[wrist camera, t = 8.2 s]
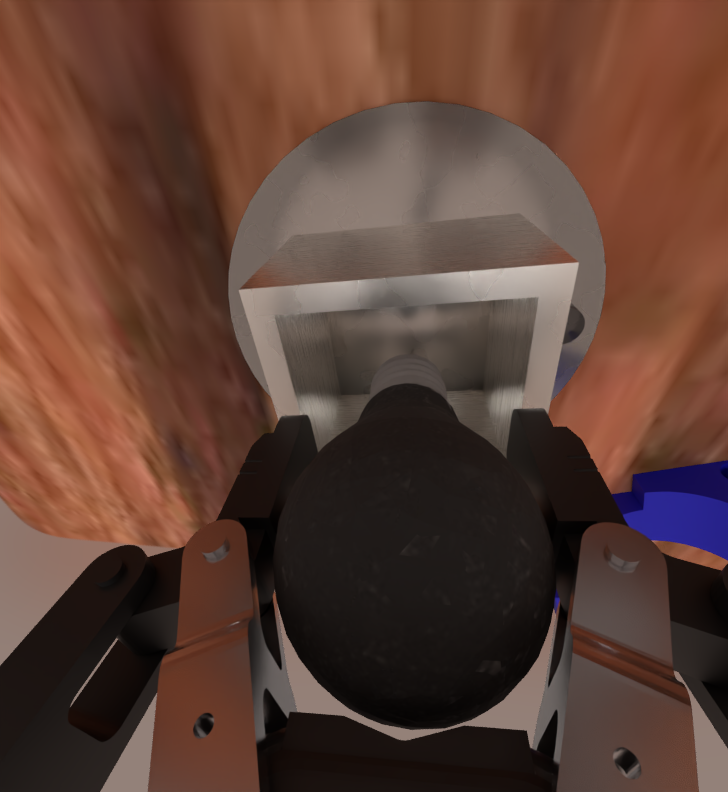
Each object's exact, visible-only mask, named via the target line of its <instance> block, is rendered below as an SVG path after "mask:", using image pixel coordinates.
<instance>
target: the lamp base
mask: <svg viewBox="0 0 728 792" xmlns="http://www.w3.org/2000/svg"><path fill="white" fill-rule="evenodd" d="M605 275H606V264H605V256H604V248H603V240H602V237H601V233H600V230H599V226H598V223H597V219H596V216H595V213H594V211H593V209H592V207H591V205H590V203H589V201H588V199H587V196H586V194H585V192H584V190H583V188H582V187H581V186H580V184H579V183H578V181H577V180H576V179H575V177H574V176H573V174H572V173H571V172H570V170H569V169H568V167H567V166H566V165H565V164H564V163H563V162H562V161H561V160H560V159H559V158H558V157H557V156H556V155H555V154H554V153H553V152H552V151H551V150H550V149H549V148H548V147H547V146H546V145H545V144H544V143H542V142H541V141H539V140H538V139H537V138H535V137H534V136H532V135H531V134H529V133H528V132H527V131H525V130H524V129H522V128H521V127H519V126H517V125H515V124H513V123H511V122H509V121H506V120H504V119H502V118H500V117H498V116H496V115H494V114H492V113H488V112H485V111H481V110H477V109H474V108H470V107H467V106H463V105H458V104H448V103H439V102H429V101H425V102H409V103H394V104H390V105H386V106H381V107H377V108H372V109H368V110H364V111H361V112H358V113H356V114H353V115H351V116H349V117H346V118H344V119H341V120H339V121H336V122H334V123H332V124H330V125H329V126H327V127H325V128H324V129H322V130H320V131H319V132H317V133H315V134H314V135H312V136H310V137H308V138H307V139H306V140H305V141H303V142H302V143H301V144H300V145H298V146H297V147H296V148H295V149H294V150H292V151H291V152H290V153H289V154H288V155H286V156H285V157H284V158H283V159H282V160H281V162H280V163H279V164H278V165H277V166H276V167H275V168H274V169H273V170H272V172H271V173H270V174H269V175H268V176H267V177H266V178H265V180H264V181H263V183H262V184H261V186H260V187H259V189H258V190H257V192H256V194H255V195H254V197H253V198H252V200H251V201H250V203H249V205H248V208H247V210H246V212H245V214H244V216H243V218H242V221H241V223H240V225H239V228H238V231H237V235H236V238H235V241H234V245H233V248H232V254H231V261H230V267H229V294H228V296H229V304H230V312H231V319H232V323H233V327H234V330H235V334H236V338H237V341H238V343H239V346H240V348H241V351H242V353H243V355H244V358H245V360H246V362H247V363H248V365H249V367H250V369H251V371H252V372H253V374H254V376H255V377H256V379H257V380H258V381H259V383H260V384H261V386H262V387H263V388H264V390H265V391H266V392H267V393H268V394H269V396H270V397H271V398H272V401H273V404H274V407H275V411H276V414H277V417H278V420H279V419H280V417H281V416H288V415H308V416H309V418H310V421H311V425H312V429H313V433H314V438H315V442H316V446H317V450H318V453H319V451H320V450H321V449H322V448H323V447H324V446H325V445H326V444H327V443H329V442H330V441H331V440H332V439H334V438H335V437H336V436H337V435H339V434H340V433H342V432H343V431H345V430H346V429H348V428H349V427H351V426H352V425H354V424H355V423H357V422H358V420H359V417H360V415H361V413H362V411H363V409H364V408H365V406H366V404H367V403H368V402H369V397H370V391H371V383H372V380H373V377H374V375H375V374H376V372H377V370H378V369H379V367H380V366H381V365H382V364H383V363H384V362H386V361H387V360H388V359H390V358H392V357H395V356H397V355H404V354H413V355H418V356H421V357H424V358H426V359H428V360H429V361H431V362H432V363H433V364H435V365H436V366H437V368H438V369H439V371H440V373H441V376H442V379H443V382H444V383H445V388H446V393H447V401H448V402H449V404H450V405H451V406H452V407H453V409H454V412H455V414H456V416H457V418H458V420H459V422H460V423H462V424H463V425H465V426H466V427H468V428H470V429H471V430H473V431H474V432H476V433H477V434H479V435H480V436H482V437H483V438H485V439H486V440H487V441H489V442H490V443H491V444H492V445H493V446H494V447H495V448H497V449H498V450H499V451H500V452H501V453H502V454H503V455H504V456H505V458H506V459H507V445H508V437H509V430H510V423H511V416H512V412H513V410H514V409H528V408H544V409H545V410H546V412H547V414H548V411H549V407H550V402H551V400H552V399H553V398H554V397H555V396H557V394H558V393H559V392H560V391H561V390H562V388H563V387H564V386H565V385H566V384H567V382H568V381H569V380H570V379H571V377H572V376H573V374H574V373H575V371H576V370H577V368H578V366H579V365H580V363H581V362H582V360H583V358H584V356H585V354H586V352H587V350H588V348H589V346H590V344H591V342H592V340H593V337H594V334H595V331H596V328H597V325H598V322H599V319H600V316H601V311H602V305H603V300H604V294H605Z"/></svg>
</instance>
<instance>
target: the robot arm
mask: <svg viewBox="0 0 728 792" xmlns="http://www.w3.org/2000/svg"><path fill="white" fill-rule="evenodd" d="M317 454H318V450H317V446H316V442H315V438H314V433H313V429H312V425H311V421H310V418H309V416H308V415H288V416H281V417H280V419H279V421H278V424H277V426H276V428H275V431H274V433H265V434H264V435H263V436H262V437H261V438H259V439H258V440H257V441H256V442H255V443H254V444H253V445H252V447H251V449H250V451H249V453H248V455H247V457H246V460H245V463H244V464H243V466H242V468H241V470H240V475H238V476H237V478H236V481H235V483H234V485H233V487H232V489H231V491H230V493H229V495H228V497H227V500H226V502H225V504H224V506H223V508H222V510H221V512H220V514H219V516H218V518H217V520H216V521H214V522H212V523H209V524H207V525H206V526H204V527H202V528H201V529H199V530H198V531H197V532H196V533H195V534H194V535H193V536H192V537H191V538H190V540H189V541H188V542H187V544H186V546H184V547H181V548H178V549H175V550H171V551H168V552H164V553H161V554H158V555H154V556H150V557H147V555H146V554H145V553H144V551H143V550H142V549H141V548H139V547H138V546H135V545H124V546H120V547H117V548H114V549H111V550H109V551H107V552H106V553H104V554H102V555H101V556H99V557H98V558H97V559H95V560H94V561H93V562H92V563H91V564H90V565H89V566H88V567H87V568H86V569H85V570H84V571H83V573H82V574H81V575H80V576H79V577H78V578H77V579H76V580H75V582H74V583H73V584H72V585H71V586H70V587H69V588H68V590H67V591H66V592H65V593H64V594H63V595H62V596H61V597H60V599H59V600H58V601H57V602H56V603H55V604H54V606H53V607H52V608H51V609H50V610H49V611H48V612H47V613H46V614H45V616H44V617H43V618H42V619H41V620H40V621H39V622H38V624H37V625H36V626H35V627H34V628H33V629H32V630H31V632H30V633H29V634H28V635H27V636H26V637H25V638H24V639H23V641H22V642H21V643H20V644H19V645H18V646H17V647H16V649H15V650H14V651H13V652H12V653H11V654H10V656H9V657H8V658H7V659H6V660H5V661H4V662H3V663H2V664H1V666H0V792H100V791H101V789H102V787H103V786H104V784H105V782H106V780H107V779H108V777H109V775H110V773H111V772H112V770H113V768H114V766H115V765H116V763H117V761H118V759H119V758H120V756H121V754H122V752H123V751H124V749H125V747H126V745H127V744H128V742H129V740H130V739H131V737H132V735H133V733H134V731H135V730H136V728H137V726H138V725H139V723H140V721H141V719H142V718H143V716H144V714H145V712H146V711H147V709H148V707H149V705H150V704H151V702H152V700H153V698H154V697H155V695H156V693H157V700H156V710H155V722H154V731H153V742H152V753H151V762H150V773H149V783H148V792H699V787H698V775H697V763H696V752H695V739H694V728H693V716H692V708H691V702H690V697H689V694H688V691H687V689H686V687H685V685H684V684H683V683H681V682H679V681H678V680H677V679H676V678H675V675H674V671H677V672H679V674H680V675H681V677H682V678H683V680H684V681H685V683H686V684H687V686H688V688H689V689H690V690H691V692H692V694H693V695H694V697H695V698H696V700H697V701H698V703H699V704H700V706H701V708H702V709H703V711H704V712H705V714H706V715H707V717H708V718H709V720H710V721H711V723H712V725H713V726H714V728H715V729H716V731H717V732H718V734H719V736H720V737H721V739H722V740H723V742H724V743H725V745H726V746H727V748H728V564H727V565H726V566H725V567H724V569H723V570H722V571H721V570H717V569H713V568H710V567H706V566H702V565H699V564H695V563H691V562H688V561H684V560H681V559H677V558H674V557H671V556H669V555H666V554H664V553H662V552H661V551H660V550H659V548H658V547H657V546H656V545H655V544H654V543H653V542H652V541H651V540H650V539H649V538H647V537H646V536H645V535H643V534H642V533H640V532H639V531H637V530H635V529H633V528H631V527H629V526H628V524H627V522H626V521H625V519H624V517H623V515H622V513H621V511H620V509H619V508H618V506H617V504H616V502H615V500H614V498H613V496H612V495H611V493H610V491H609V489H608V487H607V485H606V484H605V482H604V480H603V478H602V476H601V474H600V472H598V471H597V467H596V465H595V463H594V461H593V459H591V458H590V454H589V452H588V450H587V448H586V446H585V445H584V443H583V441H582V440H581V439H580V438H579V437H578V436H577V435H576V434H574V433H573V432H572V431H571V430H570V429H568V428H567V427H553V425H552V423H551V421H550V419H549V416H548V414H547V412H546V410H545V409H544V408H528V409H514V410H513V412H512V416H511V423H510V430H509V437H508V445H507V460H508V461H509V462H510V463H511V464H512V466H513V467H514V468H515V469H516V470H517V471H518V472H519V473H520V475H521V476H522V478H523V479H524V480H525V482H526V484H527V485H528V487H529V488H530V490H531V492H532V494H533V496H534V498H535V499H536V501H537V503H538V506H539V508H540V510H541V512H542V514H543V516H544V518H545V520H546V523H547V527H548V531H549V534H550V538H551V541H552V545H553V551H554V559H555V571H556V587H557V588H556V589H557V592H558V596H559V599H560V601H559V603H558V607H557V612H556V619H555V625H554V631H553V638H552V644H551V650H550V657H549V663H548V669H547V676H546V682H545V688H544V694H543V698H542V703H541V706H540V710H539V715H538V719H537V724H536V729H535V735H534V741H533V747H532V748H530V745H529V740H528V735H527V731H524V730H512V729H499V728H487V727H475V726H461V727H458V728H454V729H450V730H446V731H443V732H439V733H435V734H431V735H427V736H423V737H419V738H415V739H412V740H407V741H403V740H398V739H395V738H393V737H391V736H388V735H386V734H384V733H382V732H379V731H377V730H375V729H372V728H370V727H368V726H365V725H363V724H361V723H358V722H357V721H354V720H352V719H350V718H347V717H345V716H338V715H325V714H313V713H301V712H297V708H296V703H295V699H294V695H293V692H292V689H291V685H290V682H289V678H288V673H287V667H286V660H285V654H284V647H283V640H282V633H281V626H280V619H279V613H278V606H277V601H276V594H275V592H274V590H275V587H274V572H273V554H274V547H275V541H276V534H277V528H278V521H279V518H280V515H281V513H282V510H283V508H284V506H285V503H286V501H287V499H288V497H289V494H290V492H291V490H292V488H293V486H294V484H295V482H296V480H297V479H298V477H299V476H300V475H301V473H302V472H303V471H304V469H305V468H306V467H307V466H308V465H309V463H310V462H311V461H312V460H313V459H314V457H315V456H316V455H317ZM116 638H117V639H118V640H117V642H116V643H115V645H114V646H113V648H112V649H111V650H110V652H109V653H108V655H107V656H106V657H105V659H104V660H103V662H102V663H101V665H100V666H99V667H98V669H97V670H96V672H95V673H94V675H93V676H92V677H91V679H90V680H89V682H88V683H87V684H86V686H85V687H84V689H83V690H82V692H81V693H80V694H79V696H78V697H77V699H76V700H75V701H74V703H73V704H72V706H71V707H70V705H71V703H72V701H73V699H74V697H75V696H76V694H77V693H78V691H79V690H80V688H81V687H82V686H83V684H84V683H85V681H86V680H87V678H88V677H89V676H90V674H91V673H92V671H93V670H94V668H95V667H96V666H97V664H98V663H99V661H100V660H101V659H102V657H103V656H104V654H105V653H106V652H107V650H108V649H109V647H110V646H111V645H112V643H113V642H114V640H115V639H116ZM673 670H674V671H673Z"/></svg>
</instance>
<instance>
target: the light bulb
mask: <svg viewBox="0 0 728 792" xmlns="http://www.w3.org/2000/svg"><path fill="white" fill-rule="evenodd" d="M273 572H274V587H275V594H276V601H277V604H278V607H279V610H280V614H281V617H282V621H283V624H284V628H285V631H286V634H287V636H288V638H289V640H290V642H291V643H292V646H293V647H294V649H295V651H296V653H297V655H298V657H299V658H300V660H301V661H302V662H303V664H304V665H305V666H306V668H307V669H308V670H309V671H310V673H311V674H312V675H313V677H314V678H315V679H316V680H317V682H318V683H319V684H320V685H321V686H322V687H324V688H325V689H326V690H327V691H328V692H329V693H330V694H331V695H332V696H334V697H335V698H336V699H337V700H338V701H340V702H341V703H342V704H344V705H345V706H346V707H348V708H349V709H351V710H352V711H354V712H356V713H358V714H360V715H362V716H364V717H366V718H368V719H370V720H373V721H376V722H378V723H381V724H384V725H389V726H395V727H400V728H405V729H410V730H415V729H439V728H447V727H450V726H454V725H457V724H460V723H463V722H466V721H469V720H472V719H473V718H475V717H477V716H479V715H481V714H483V713H485V712H486V711H488V710H489V709H491V708H492V707H494V706H495V705H497V704H498V703H500V702H501V701H502V700H504V699H505V697H506V696H507V695H508V694H509V693H510V692H511V691H512V690H513V689H514V688H515V686H516V685H517V684H518V683H519V682H520V681H521V680H522V679H523V678H524V677H525V675H526V674H527V673H528V672H529V670H530V669H531V667H532V666H533V664H534V663H535V661H536V660H537V658H538V657H539V654H540V651H541V649H542V646H543V644H544V641H545V639H546V636H547V633H548V630H549V626H550V623H551V618H552V613H553V609H554V601H555V594H556V588H557V587H556V571H555V559H554V551H553V545H552V541H551V538H550V534H549V531H548V527H547V523H546V520H545V518H544V516H543V514H542V512H541V510H540V508H539V506H538V503H537V501H536V499H535V498H534V496H533V494H532V492H531V490H530V488H529V487H528V485H527V484H526V482H525V480H524V479H523V478H522V476H521V475H520V473H519V472H518V471H517V470H516V469H515V468H514V467H513V466H512V464H511V463H510V462H509V461H508V460H507V459H506V458H505V456H504V455H503V454H502V453H501V452H500V451H499V450H498V449H497V448H495V447H494V446H493V445H492V444H491V443H490V442H489V441H487V440H486V439H485V438H483V437H482V436H480V435H479V434H477V433H476V432H474V431H473V430H471V429H470V428H468V427H466V426H465V425H463V424H462V423H460V422H459V420H458V418H457V416H456V414H455V412H454V409H453V407H452V406H451V405H450V404H449V402H448V401H447V393H446V388H445V383H444V382H443V379H442V376H441V373H440V371H439V369H438V368H437V366H436V365H435V364H433V363H432V362H431V361H429V360H428V359H426V358H424V357H421V356H418V355H413V354H404V355H397V356H395V357H392V358H390V359H388V360H387V361H386V362H384V363H383V364H382V365H381V366H380V367H379V369H378V370H377V372H376V374H375V375H374V377H373V380H372V383H371V391H370V397H369V402H368V403H367V404H366V406H365V408H364V409H363V411H362V413H361V415H360V417H359V420H358V422H357V423H355V424H354V425H352V426H351V427H349V428H348V429H346V430H345V431H343V432H342V433H340V434H339V435H337V436H336V437H335V438H334V439H332V440H331V441H330V442H329V443H327V444H326V445H325V446H324V447H323V448H322V449H321V450H320V451H319V453H318V454H317V455H316V456H315V457H314V459H313V460H312V461H311V462H310V463H309V465H308V466H307V467H306V468H305V469H304V471H303V472H302V473H301V475H300V476H299V477H298V479H297V480H296V482H295V484H294V486H293V488H292V490H291V492H290V494H289V497H288V499H287V501H286V503H285V506H284V508H283V510H282V513H281V515H280V518H279V521H278V528H277V534H276V541H275V547H274V554H273Z"/></svg>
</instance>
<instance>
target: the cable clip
mask: <svg viewBox="0 0 728 792" xmlns="http://www.w3.org/2000/svg"><path fill="white" fill-rule="evenodd" d="M611 495H612V496H613V498H614V500H615V502H616V504H617V506H618V508H619V509H620V511H621V513H622V515H623V517H624V519H625V521H626V522H627V524H628V526H629V527H631V528H633V529H635V530H637V531H639V532H640V533H642V534H643V535H645V536H646V537H647V538H649V539H650V540H659V541H670V542H677V543H681V544H686V545H690V546H693V547H697V548H700V549H703V550H706V551H708V552H711V553H713V554H716V555H718V556H720V557H722V558H724V559H726V560H728V460H727V461H721V462H714V463H707V464H700V465H694V466H687V467H680V468H673V469H667V470H660V471H653V472H646V473H640V474H633V483H632V492H625V493H617V494H611ZM559 601H560V599H559V596H558V592H557V589H556V594H555V601H554V610H555V613H556V612H557V607H558V603H559Z"/></svg>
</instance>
